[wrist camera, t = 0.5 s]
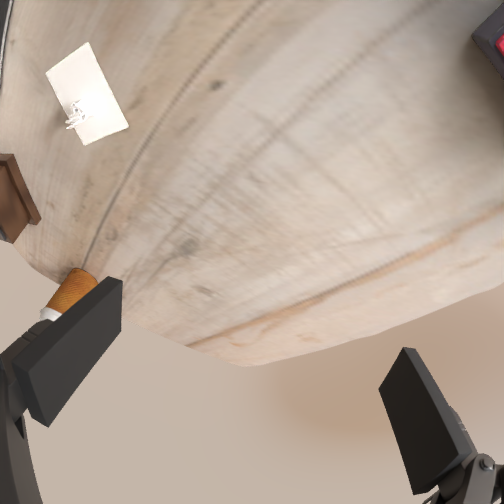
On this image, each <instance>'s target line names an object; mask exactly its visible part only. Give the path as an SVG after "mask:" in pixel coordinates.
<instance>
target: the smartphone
mask: <svg viewBox="0 0 504 504" xmlns="http://www.w3.org/2000/svg"><path fill="white" fill-rule="evenodd" d="M12 4H13V0H0V87H1V73H2V62H3V53H4V46H5V39H6V33H7V27H8V22H9V17H10V12H11V8H12Z"/></svg>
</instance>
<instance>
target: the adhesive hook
mask: <svg viewBox="0 0 504 504" xmlns="http://www.w3.org/2000/svg"><path fill="white" fill-rule="evenodd" d="M69 109H70V111H71V113H72V114H70V115H68V118H69V120H67V121H66V122H65V123H70V124H71V125H70V126H68V127H67V128H66V129H72V128H75V127H77V126H78V125H80V124H82V123H83V122H84V121H86V120H87V119H90V118H94V117H95V116H96V113H95V111H94V110H90V108H89V107H88V105H87V103H86V101H85V99H84V98H82V99H78V100H75V101H73V102H72V103H71V105H70V107H69Z"/></svg>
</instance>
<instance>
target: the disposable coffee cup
mask: <svg viewBox="0 0 504 504" xmlns="http://www.w3.org/2000/svg"><path fill="white" fill-rule="evenodd" d="M97 285H98V282H97V281H96V280H95V279H94V278H93V277H92V276H91V275H90V274H89V273H87V272H85V271H83V270H81V269H77V268H74V269H73V270H72V271H71V272H70V274H69V275H68V276H67V278H66V279H65V280H64V282H63V283H62V284H61V286H60V287H59V288H58V290H57V291H56V292H55V294H54V295H53V297H52V298H51V299H50V301H49V302H48V304H47V305H46V307H44V308H43V309H41V311H40V312H41V315H40V321H42V320H45V319H50V320H52V321H55V320H56V319H57V318H58V317H60V316H61V315H62V314H63V313H64V312H65V311H67V310H68V309H69V308H70V307H71V306H72V305H74V304H75V303H76V302H77V301H78V300H80V299H81V298H82V297H83V296H84V295H86V294H87V293H88V292H89V291H90V290H92V289H93V288H94V287H95V286H97Z"/></svg>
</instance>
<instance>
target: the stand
mask: <svg viewBox="0 0 504 504" xmlns="http://www.w3.org/2000/svg"><path fill="white" fill-rule="evenodd" d="M40 220H41V217H40V215H39V213H38V211H37V209H36V207H35V204H34V202H33V200H32V198H31V196H30V194H29V191H28V189H27V187H26V184H25V182H24V180H23V177H22V175H21V173H20V170H19V168H18V165H17V162H16V160H15V157H14V155H13V154H0V240H3V241H6V242H9V243H12V244H13V243H14V242H15V240H16V239H17V238H18V236H19V235H20V233H21V232H22V231H23V229H24V228H25V227H26V225H27V224H28V223H29V224H33V225H37V224H38V223H39V221H40Z"/></svg>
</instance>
